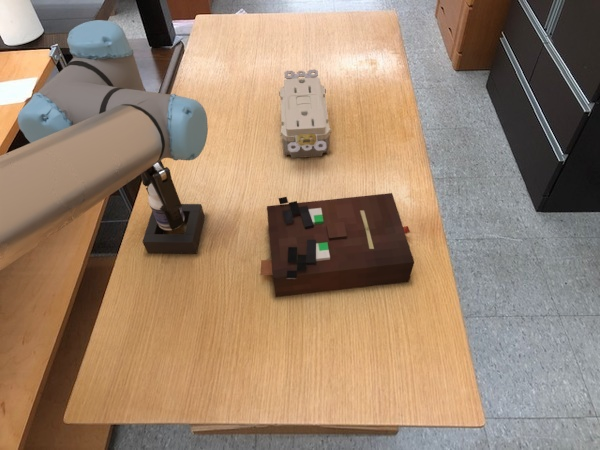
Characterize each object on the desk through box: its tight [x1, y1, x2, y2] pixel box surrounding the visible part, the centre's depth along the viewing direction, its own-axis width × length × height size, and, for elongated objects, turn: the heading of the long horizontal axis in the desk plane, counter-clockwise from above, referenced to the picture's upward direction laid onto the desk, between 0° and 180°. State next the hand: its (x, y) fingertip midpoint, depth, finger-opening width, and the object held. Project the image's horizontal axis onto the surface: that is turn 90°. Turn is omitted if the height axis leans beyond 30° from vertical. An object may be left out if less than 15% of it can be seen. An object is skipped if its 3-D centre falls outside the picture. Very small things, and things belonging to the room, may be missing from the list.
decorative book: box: [260, 192, 415, 298], centre depth 86 cm, size 19×8×30 cm
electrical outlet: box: [278, 68, 332, 159], centre depth 109 cm, size 12×28×10 cm, turn 3°
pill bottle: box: [147, 183, 184, 231], centre depth 86 cm, size 5×5×10 cm
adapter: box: [141, 203, 206, 255], centre depth 92 cm, size 10×10×4 cm
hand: (169, 216), depth 89 cm, fingers closed on pill bottle, 5 cm apart
